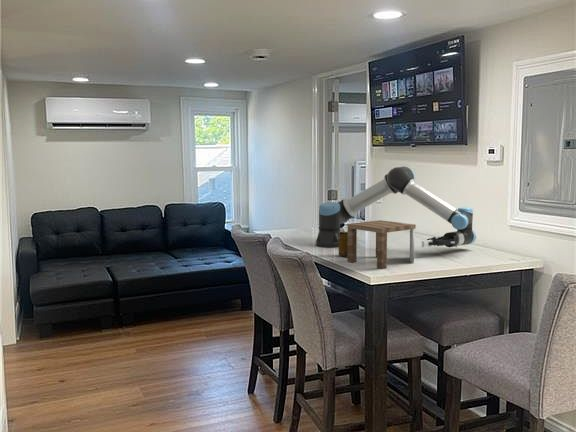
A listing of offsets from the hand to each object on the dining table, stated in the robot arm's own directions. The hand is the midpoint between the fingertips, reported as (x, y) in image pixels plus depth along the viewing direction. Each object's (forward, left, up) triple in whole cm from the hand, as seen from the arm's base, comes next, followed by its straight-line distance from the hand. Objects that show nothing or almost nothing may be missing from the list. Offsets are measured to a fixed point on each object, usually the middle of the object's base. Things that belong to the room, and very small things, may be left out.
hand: (422, 244), depth 267 cm
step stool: (-16, -18, -7) cm, 25 cm away
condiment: (-36, -8, -7) cm, 38 cm away
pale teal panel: (-4, -8, -6) cm, 11 cm away
